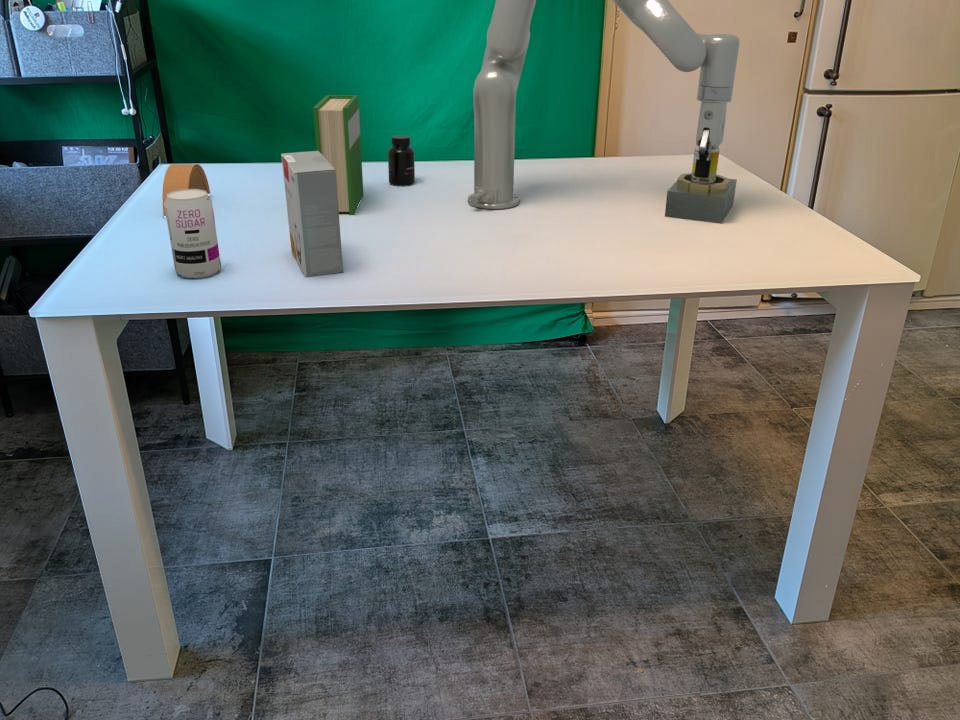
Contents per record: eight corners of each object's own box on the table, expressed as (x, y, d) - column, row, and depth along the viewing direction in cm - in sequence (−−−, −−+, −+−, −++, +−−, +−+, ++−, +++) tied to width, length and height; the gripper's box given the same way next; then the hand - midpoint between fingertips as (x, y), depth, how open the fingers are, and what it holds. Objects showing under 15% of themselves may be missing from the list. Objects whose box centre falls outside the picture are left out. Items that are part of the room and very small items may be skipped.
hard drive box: (290, 252, 165) (280, 152, 156) (328, 248, 168) (320, 150, 159) (304, 278, 152) (294, 171, 143) (344, 273, 155) (337, 167, 146)
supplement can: (207, 261, 160) (195, 185, 153) (229, 272, 155) (219, 194, 148) (168, 272, 154) (154, 193, 148) (190, 283, 149) (177, 202, 143)
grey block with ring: (721, 223, 185) (726, 191, 182) (664, 216, 190) (668, 184, 186) (735, 199, 203) (740, 169, 200) (683, 193, 208) (686, 164, 205)
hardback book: (353, 215, 189) (347, 108, 178) (321, 215, 189) (312, 107, 178) (363, 195, 204) (357, 95, 194) (333, 194, 204) (326, 95, 194)
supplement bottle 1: (413, 186, 212) (412, 139, 207) (387, 186, 212) (385, 139, 207) (416, 180, 218) (414, 134, 213) (390, 179, 218) (388, 134, 213)
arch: (211, 196, 203) (205, 155, 199) (189, 219, 185) (182, 175, 181) (187, 196, 203) (181, 155, 198) (163, 219, 185) (156, 175, 180)
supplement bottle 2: (719, 182, 192) (726, 137, 187) (706, 186, 188) (712, 141, 184) (699, 177, 195) (704, 134, 191) (685, 181, 192) (691, 137, 187)
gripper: (726, 100, 175) (713, 184, 183) (737, 89, 189) (725, 168, 197) (690, 97, 177) (680, 180, 185) (704, 87, 191) (694, 164, 199)
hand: (703, 173), depth 191 cm, fingers closed on supplement bottle 2, 5 cm apart
